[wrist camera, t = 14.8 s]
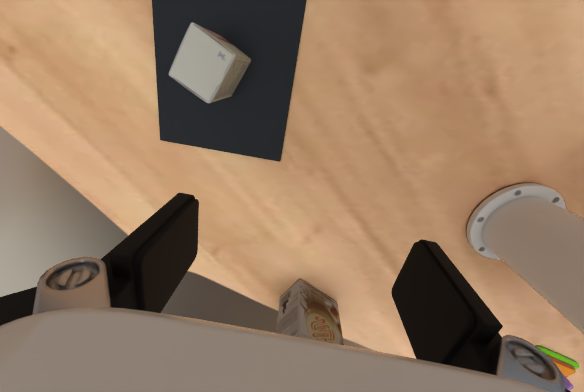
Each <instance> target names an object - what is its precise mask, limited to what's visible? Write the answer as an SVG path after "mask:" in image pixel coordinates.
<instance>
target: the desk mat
mask: <svg viewBox="0 0 584 392" xmlns="http://www.w3.org/2000/svg"><path fill="white" fill-rule="evenodd" d="M305 5H306V0H152V8H153V25H154V42H155V58H156V75H157V92H158V109H159V126H160V140H163V141H168V142H174V143H179V144H185V145H191V146H196V147H202V148H207V149H213V150H219V151H224V152H230V153H235V154H241V155H247V156H252V157H258V158H264V159H269V160H275V161H280V160H281V154H282V148H283V141H284V135H285V129H286V123H287V117H288V110H289V104H290V98H291V92H292V86H293V79H294V73H295V67H296V61H297V55H298V48H299V42H300V36H301V30H302V23H303V17H304V11H305ZM192 22H193V23H195V24H197V25H199V26H201V27H203V28H205V29H208V30H210V31H212V32H214V33H216V34H218V35H220V36H222V37H223V38H224V39H226V40H227V41H229V42H230V43H231V44H233V45H234V46H235V47H236V48H238V49H239V50H240V51H242V52H243V53H244V54H245V55H246V56H248V57H249V58H250V59H251V62H250V64H249V65H248V67H247V69H246V71H245V73H244V75H243V77H242V78H241V80H240V82H239V84H238V85H237V87H236V89H235V91H234V92H233V94H232V96H231V97H228V98H225V99H221V100H218V101H215V102H212V103H206V102H205V101H204V100H202V99H201V98H199V97H198V96H196V95H195V94H194V93H192V92H191V91H189V90H188V89H187V88H185V87H184V86H183V85H181V84H180V83H179V82H177V81H176V80H175V79H173V78H172V77H171V76H169V72H170V69H171V66H172V64H173V62H174V59H175V57H176V54H177V52H178V50H179V47H180V45H181V43H182V41H183V38H184V36H185V34H186V32H187V30H188V28H189V26H190V24H191V23H192Z"/></svg>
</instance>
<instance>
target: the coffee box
mask: <svg viewBox="0 0 584 392" xmlns="http://www.w3.org/2000/svg"><path fill="white" fill-rule="evenodd" d="M276 333H278V334H284V335H289V336H295V337H301V338H306V339H312V340H317V341H323V342H328V343H333V344H339V345H344V344H343V337H342V331H341V325H340V318H339V312H338V305H337V302H336V301H334V300H332V299H331V298H329V297H328V296H326V295H325V294H323V293H322V292H320V291H318V290H317V289H315V288H314V287H312V286H311V285H309V284H308V283H306V282H304V281H303V280H301V279H299V280H298V281H297V282H296V283H295V284H294V285H293V286H292V287H291V288H290V289H289V290H287V291H286V292H285V293H284V294H283V295H282V296H281V297H280V302H279V311H278V320H277V330H276Z"/></svg>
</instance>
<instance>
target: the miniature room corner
mask: <svg viewBox="0 0 584 392" xmlns="http://www.w3.org/2000/svg"><path fill="white" fill-rule="evenodd" d="M536 347H537V348H539V349H540V350H541V351H542V352H544V353H545V354H546V355H547V356H548V357H549V358H550V359H551V360H552V361H553V362H554V363H555V364H556V365H557V367H558V368H559V370H560V371H561V373H562V376H563V378H564V384H565V388H566V389H567V390H571V389H572V388H573V385H572V384H571V383H570V381H569V380H568V379H567V378H566V377H568V376H569V375H571V374H573V373H575V372H576V371H575V370H576V369H577V368H579V364H578V363H577V362H575V361H573V360H571V359H569V358H567V357H564V356H562V355H560V354H558V353H555V352H553V351H551V350H548V349H546V348H544V347H541V346H536Z"/></svg>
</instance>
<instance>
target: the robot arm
mask: <svg viewBox="0 0 584 392" xmlns="http://www.w3.org/2000/svg"><path fill="white" fill-rule="evenodd" d="M198 208H199V202H198V200H197V199H195V197H194V195H189V194H184V193H178V194H177V195H176V196H175V197H173V198H172V199H171V200H170V201H169V202H168V203H166V204H165V205H164V206H163V207H162V208H161V209H159V210H158V211H157V212H156V213H155V214H154V215H152V216H151V217H150V218H149V219H148V220H147V221H145V222H144V223H143V224H142V225H140V226H139V227H138V228H137V229H136V230H135V231H133V232H132V233H131V234H130V235H129V236H128V237H127V238H125V239H124V240H123V241H122V242H121V243H120V244H118V245H117V246H116V247H115V248H114V249H112V250H111V251H110V252H109V253H108V254H107V255H105V256H104V257H103V258H102V259H101V260H100V259H97V258H93V257H81V258H75V259H71V260H67V261H64V262H62V263H59V264H57V265H55V266H53V267H52V268H50V269H49V270H47V271H46V272H45V273H44V274H43V275H42V276H41V277H40V279H39V281H38V285H37V287H34V288H31V289H27V290H24V291H21V292H17V293H13V294H10V295H6V296H3V297H0V392H570V391H569V390H567V389H566V388H565V384H564V378H563V376H562V373H561V371H560V370H559V368H558V367H557V365H556V364H555V363H554V362H553V361H552V360H551V359H550V358H549V357H548V356H547V355H546V354H545V353H544V352H542V351H541V350H540V349H539V348H537V347H536V346H534V345H533V344H531V343H529V342H527V341H526V340H524V339H522V338H519V337H516V336H511V335H506V336H503V337H501V336H500V334H499V333H498V332H499V331H500V329H501V328H502V327H503V326H502V325H501V323H500V322H499V321H498V320H497V318H496V317H495V316H494V315H493V313H492V312H491V311H490V309H489V308H488V307H487V306H486V304H485V303H484V302H483V301H482V299H481V298H480V297H479V296H478V294H477V293H476V292H475V291H474V289H473V288H472V287H471V286H470V284H469V283H468V282H467V280H466V279H465V278H464V277H463V275H462V274H461V273H460V272H459V270H458V269H457V268H456V267H455V265H454V264H453V263H452V262H451V260H450V259H449V258H448V257H447V255H446V254H445V253H444V251H443V250H442V249H441V248H440V246H439V245H438V244H437V243H436V242H432V241H427V240H420V241H418V242H415V243H414V245H413V247H412V249H411V251H410V253H409V255H408V257H407V259H406V261H405V263H404V265H403V267H402V269H401V271H400V273H399V275H398V277H397V279H396V281H395V283H394V285H393V288H392V297H393V300H394V302H395V305H396V307H397V310H398V312H399V315H400V318H401V320H402V323H403V325H404V328H405V330H406V333H407V336H408V338H409V341H410V343H411V346H412V348H413V351H414V354H415V356H416V359H414V358H409V357H403V356H398V355H393V354H387V353H382V352H377V351H371V350H366V349H360V348H355V347H350V346H344V345H339V344H333V343H328V342H323V341H317V340H312V339H306V338H301V337H295V336H289V335H284V334H278V333H273V332H267V331H261V330H256V329H250V328H244V327H239V326H233V325H227V324H222V323H216V322H211V321H205V320H199V319H193V318H187V317H180V316H174V315H168V314H161V311H162V310H163V308H164V306H165V305H166V303H167V302H168V300H169V299H170V297H171V296H172V294H173V292H174V291H175V289H176V288H177V286H178V285H179V283H180V282H181V280H182V278H183V277H184V275H185V274H186V272H187V271H188V269H189V268H190V266H191V264H192V263H193V261H194V260H195V258H196V255H197V250H198ZM466 232H467V239H468V242H469V244H470V245H471V246H472V248H473V249H474V250H475V251H476V252H477V253H479V254H480V255H482V256H484V257H487V258H489V259H495V260H502V261H504V262H505V263H506V264H507V265H508V266H509V267H510V268H511V269H512V270H514V271H515V272H516V273H517V274H518V275H519V276H520V277H521V278H522V279H523V280H525V281H526V282H527V283H528V284H529V285H530V286H531V287H532V288H533V289H535V290H536V291H537V292H538V293H539V294H540V295H541V296H542V297H543V298H544V299H546V300H547V301H548V302H549V303H550V304H551V305H552V306H553V307H554V308H556V309H557V310H558V311H559V312H560V313H561V314H562V315H563V316H564V317H565V318H567V319H568V320H569V321H570V322H571V323H572V324H573V325H574V326H576V327H577V328H578V329H579V330H580V331H581V332H582V333H583V334H584V219H583V218H581V217H579V216H577V215H575V214H573V213H571V212H569V211H567V210H566V206H565V202H564V200H563V198H562V196H561V195H560V194H559V193H558V192H556V191H555V190H553V189H551V188H549V187H546V186H544V185H541V184H536V183H523V184H516V185H513V186H509V187H506V188H504V189H502V190H500V191H497V192H496V193H494V194H492V195H491V196H489V197H488V198H487V199H485V200H484V201H483V202H482V203H481V204H480V205H479V206H478V207H477V208H476V209H475V211H474V212H473V214H472V215H471V217H470V219H469V222H468V224H467V230H466Z"/></svg>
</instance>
